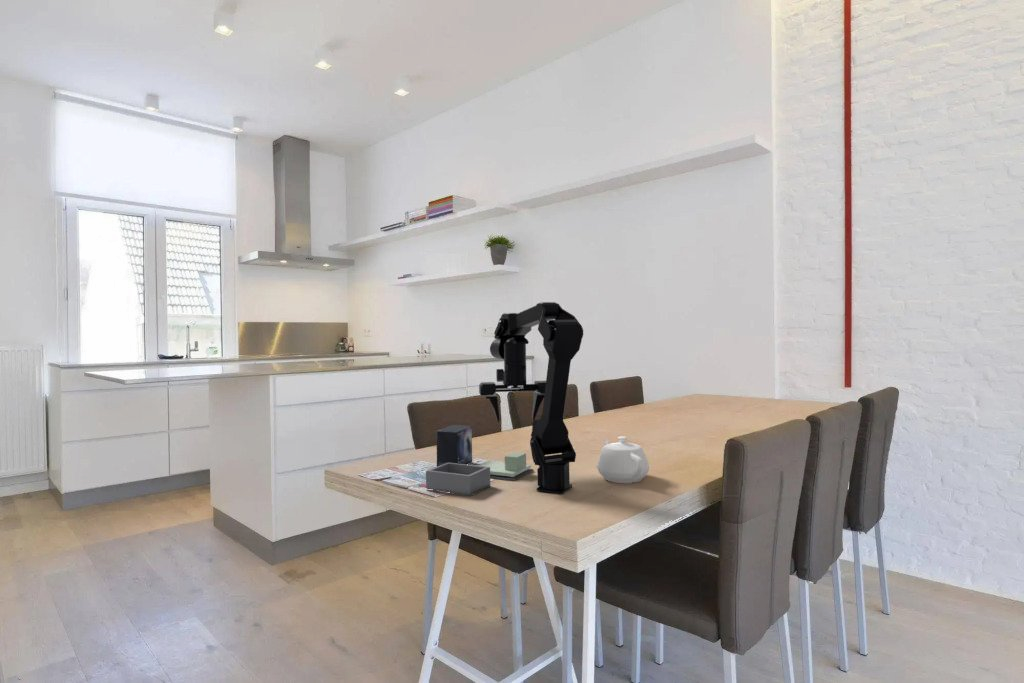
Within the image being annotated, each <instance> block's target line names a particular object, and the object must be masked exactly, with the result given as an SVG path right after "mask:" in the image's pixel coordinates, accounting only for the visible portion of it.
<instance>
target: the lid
mask: <svg viewBox="0 0 1024 683" xmlns="http://www.w3.org/2000/svg"><path fill="white" fill-rule="evenodd" d="M476 466H485V467H490V474H492V475H501V476H509V477H514V476H516V475H518V474H520V473H522V472H524V471H526V470H528V469H532V468H531V464H527V453H525V452H516V451H513V452H512V453H509V454H507V455H504V461H496V460H495V461H494V460H487V461H485V462H482V463H481V464H478V465H476Z"/></svg>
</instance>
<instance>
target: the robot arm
mask: <svg viewBox="0 0 1024 683" xmlns="http://www.w3.org/2000/svg"><path fill="white" fill-rule="evenodd" d="M535 326H537V331H538V332H539V333H540V335H541V336H542V342H543V344H542V345H543V347H544V349H545V351H546V353H547V355H548V361H547V371H546V379H545V380H534V383H527V345H529V340H528V338H526V335H527V334H528V333H529V332H530V333H531V332H532V327H535ZM493 333H494V337H493V338H494V339H493V340H492V342H491V343H490V347H489V352H490V354H491V356H492V357H493V358H494V359H498V360H502V361H503V368H497V369H496V370H495V371H496V373H495V374H496V378H495V380H496V382H497V383H499V382H500V383H502V384H496V383H495V382H494V381H487V382H486V381H481V382H480V383H479V385H478V393H479V395H480V396H483V397H484V398H485V399H488V400H489V401H490V403H491V406H492V408H493V411H494V414H495V417H496V420H497V422H498V423H499V422H500V410H499V408H500V407H499V402H498V396H497V394H496V393H500V392H503V393H504V392H532V396H533V400H532V402H533V403H532V410H531V418H532V426H531V427H532V429H531V434H530V440H529V445H530V451H531V457H532V462H533V463H534V466H538V468H537V471H536V472H537V477H536V478H537V486H538V487H536V489H535V490H536V491H538V492H543V493H544V492H545V493H552V494H561V495H562V494H564V493H566V492H567V491H568V490H571V489H572V488H573V484H572V483H571V484H570V481H571V480H570V478H571V477H570V463H575V462H576V458H577V454H576V452H575V449H574V446H573V445H572V442H571V441H570V438H569V432H570V431H569V429H568V428H567V426H566V423H565V422H564V417H565V408H566V401H567V392H568V385H569V380H570V379H569V376H570V370H571V362H572V360H573V359H574V358H575V356H576V355H577V353H578V352H579V351H580V348H581V344H582V340H583V337H584V328H583V326H582V324H581V323H580V322H579V320H578V319H577V318H576V317H575V315H573V314H572V313H570V312H569V311H567V310H565V309H563V308H562V307H561V305H560V304H559V303H557V302H555V301H552V302H551V301H547V302H546V301H544V302H543V301H541V302H539V303H536V305H534V306H532V307H531V306H530V307H529V308H527V309H524V310H522V311H519V312H504V313H502V315H500V318H498V322H497V326H496V328H495V330H494V332H493ZM542 402H543V404H542ZM541 404H542V412H541V413H542V414H541V416H540V418H539V419H536V417H537V414H538V412H539V409H540V406H541Z"/></svg>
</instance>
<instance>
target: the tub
mask: <svg viewBox="0 0 1024 683" xmlns="http://www.w3.org/2000/svg"><path fill="white" fill-rule="evenodd" d="M425 484H426V485H425V488H427V489H433V490H439V491H445V492H450V493H454V494H453V495H457V494H458V496H466V497H472V496H473V494H474V495H476V494H477V492H478V493H480V492H482V491H483V490H485V489H487V488H489V487H491V478H490V467H485V466H477V465H476V464H475V465H474V464H468V465H467V464H457V463H445V464H443V465H440V466H437V465H436V467H433V468H430V469H426V470H425ZM481 490H482V491H481ZM479 491H480V492H479ZM450 493H449V494H450ZM475 493H476V494H475ZM471 495H472V496H471Z"/></svg>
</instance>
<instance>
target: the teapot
mask: <svg viewBox="0 0 1024 683" xmlns="http://www.w3.org/2000/svg"><path fill="white" fill-rule="evenodd" d="M617 440H618V441H619V442H613V443H612V442H611V443H610V440H609V439H608V438H607V439H604V443H605V444H604V446H603V448H602V449H601V451H600V453H599V454H600V455H599V457H598V460H597V465H596V468H597V471H598V473H599V474H600V475H601V476H602V477H603V479H604V478H605V479H604V480H605V481H607V480H608V482H610V481H612V482H611V483H616V482H617V484H633V483H632V482H634V483H637V481H638V482H641V481H642V480H643V478H645V477H646V476H647V474H648V473H649V471H650V465H649V462H648V459H647V458H648V457H647V456H646V453H645V451H644V450H643V448H642V446H641V445H639V444H635V443H632V442H626V440H627V436H624V435H623V436H621V435H620V436H618V437H617Z"/></svg>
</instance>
